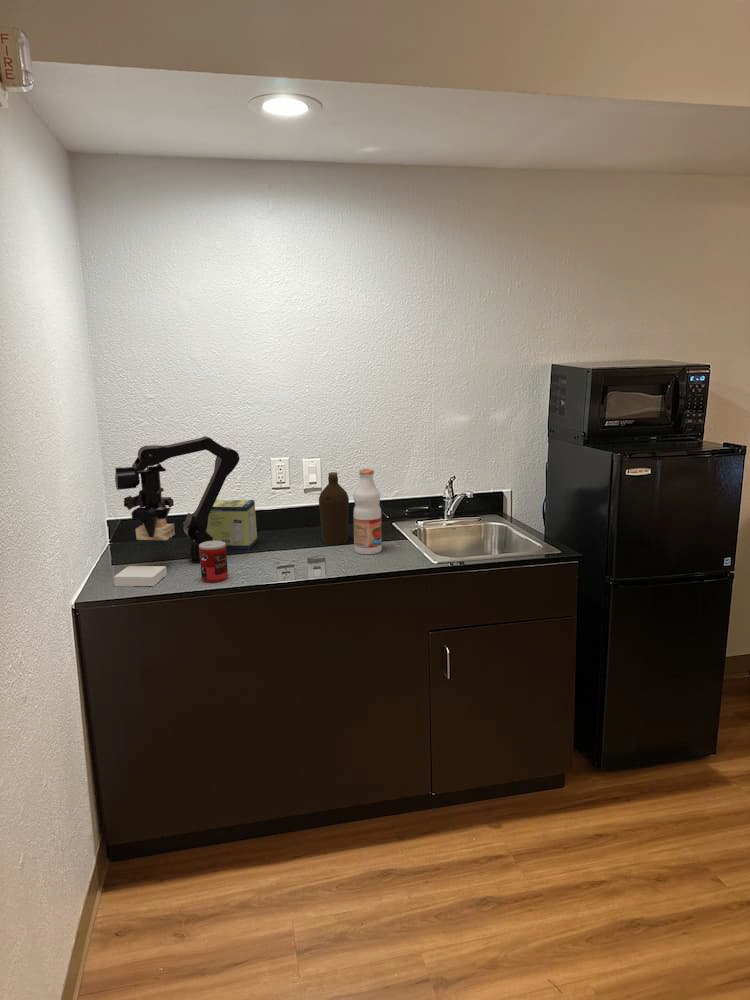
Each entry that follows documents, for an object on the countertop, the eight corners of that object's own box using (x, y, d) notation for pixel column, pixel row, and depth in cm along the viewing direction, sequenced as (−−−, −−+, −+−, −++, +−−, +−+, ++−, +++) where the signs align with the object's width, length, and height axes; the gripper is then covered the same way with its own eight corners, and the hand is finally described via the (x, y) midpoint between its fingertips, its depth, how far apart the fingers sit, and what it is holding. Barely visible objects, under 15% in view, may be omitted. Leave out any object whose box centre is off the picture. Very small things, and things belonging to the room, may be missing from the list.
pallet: (174, 534, 220) (173, 523, 220) (167, 540, 214) (166, 529, 213) (145, 534, 221) (144, 523, 221) (136, 539, 215) (135, 528, 214)
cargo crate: (166, 524, 219) (166, 518, 218) (161, 528, 215) (161, 521, 214) (148, 524, 219) (148, 518, 219) (143, 527, 215) (142, 521, 215)
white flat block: (166, 575, 211) (165, 566, 211) (153, 586, 202) (152, 577, 201) (129, 575, 213) (128, 565, 212) (114, 586, 203) (113, 576, 202)
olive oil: (351, 544, 240) (349, 475, 235) (321, 546, 239) (319, 476, 233) (348, 536, 251) (346, 469, 245) (319, 538, 249) (316, 471, 243)
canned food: (203, 575, 211) (200, 541, 209) (229, 573, 212) (227, 539, 210) (199, 583, 204) (196, 548, 201) (226, 582, 205) (224, 547, 202)
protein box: (216, 541, 248) (212, 499, 245) (257, 541, 247) (255, 499, 243) (206, 549, 238) (203, 506, 235) (250, 549, 237) (247, 506, 233)
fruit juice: (355, 546, 238) (353, 467, 232) (382, 546, 237) (381, 467, 231) (353, 554, 229) (350, 473, 222) (381, 555, 228) (379, 472, 222)
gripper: (139, 480, 224) (144, 526, 227) (112, 492, 206) (118, 542, 209) (172, 480, 223) (176, 526, 226) (148, 492, 205) (152, 542, 208)
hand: (155, 534), depth 218 cm, fingers closed on pallet, 6 cm apart
